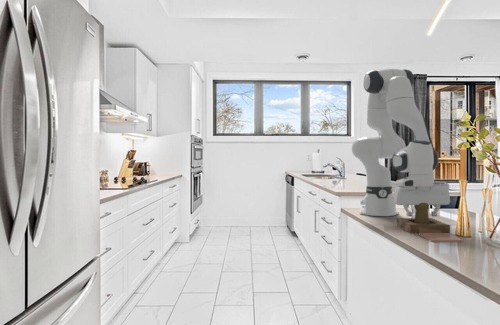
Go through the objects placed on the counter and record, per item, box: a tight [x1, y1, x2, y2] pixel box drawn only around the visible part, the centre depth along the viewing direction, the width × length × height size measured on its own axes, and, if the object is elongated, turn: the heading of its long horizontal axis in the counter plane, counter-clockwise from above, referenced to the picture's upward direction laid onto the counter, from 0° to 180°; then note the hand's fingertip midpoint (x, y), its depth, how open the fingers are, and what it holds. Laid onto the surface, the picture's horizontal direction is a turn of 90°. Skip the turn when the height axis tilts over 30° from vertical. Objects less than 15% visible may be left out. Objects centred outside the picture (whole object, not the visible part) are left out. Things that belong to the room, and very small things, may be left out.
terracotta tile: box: [418, 233, 464, 243], centre depth 112 cm, size 10×10×1 cm
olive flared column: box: [414, 203, 430, 224], centre depth 125 cm, size 6×6×11 cm
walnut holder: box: [396, 217, 451, 234], centre depth 125 cm, size 14×14×3 cm
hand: (421, 216), depth 125 cm, fingers open, 8 cm apart
